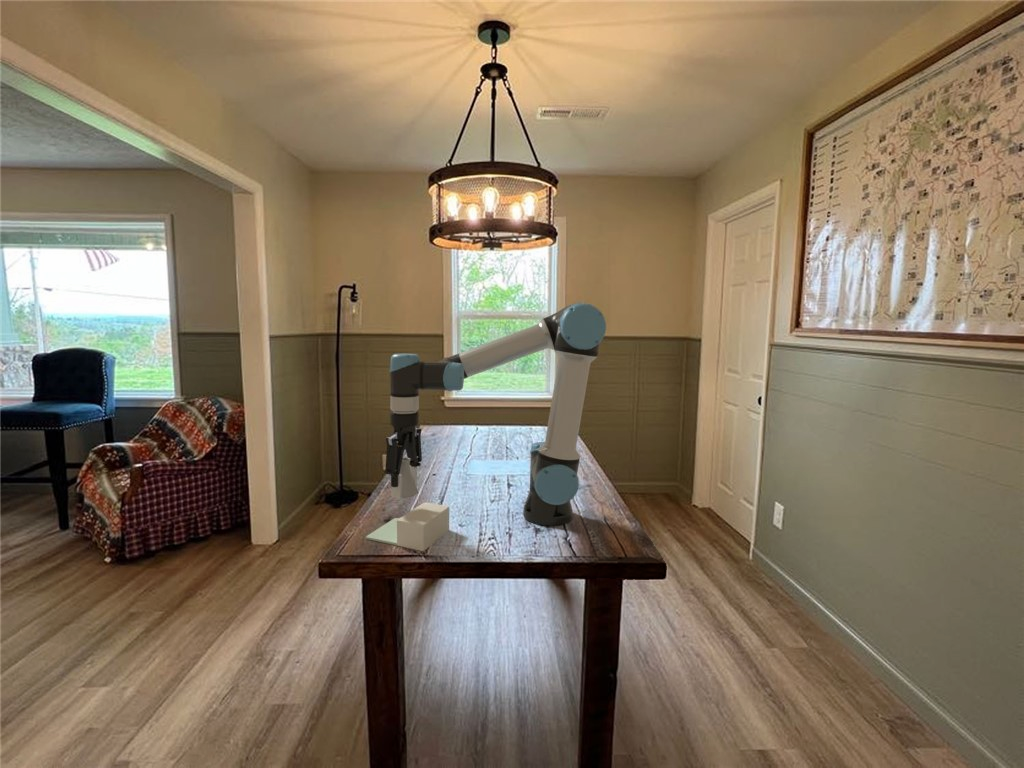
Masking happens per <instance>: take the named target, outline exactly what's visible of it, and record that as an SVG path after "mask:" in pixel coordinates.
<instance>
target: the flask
mask: <svg viewBox="0 0 1024 768" xmlns="http://www.w3.org/2000/svg"><path fill="white" fill-rule="evenodd" d="M410 461H411V459H410V458H407V457H404V456H403V459H402V464H401V469H400V474H401V475H402V498H401V499H406V498H412V497H414V496H416V495H418V494H419V491H418V487H416V485H415V482H414V480H413V477H412V474H411V470H410ZM390 495H391V492H390Z"/></svg>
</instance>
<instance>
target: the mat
mask: <svg viewBox="0 0 1024 768" xmlns="http://www.w3.org/2000/svg"><path fill="white" fill-rule="evenodd" d="M399 518H400V517H395V518H392V519H391V520H389V521H388V522H387V523H385V524H383V525H382V526H380V527H378V528H377V529H375V530H374V531H372V532H371V533H369V534H368V535H366V536H365V540H370V541H373V542H374V541H375V542H379V543H383V544H387V545H392V546H397V520H398V519H399Z"/></svg>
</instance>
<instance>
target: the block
mask: <svg viewBox="0 0 1024 768" xmlns="http://www.w3.org/2000/svg"><path fill="white" fill-rule="evenodd" d="M398 518H399V519H398V520H397V545H396V546H398V547H402V548H406V549H410V550H416V551H420V552H424V551H425V550H427V549H428V548H429V547H430V546H432V545H433V544H434V543H435V542H437V541H438V540H439V539H440V538H441V537H442V536H444V535H445V534H446V533H448V532H449V531H450V506H449V505H444V504H437V503H433V502H426V501H425V502H423V503H421V504H419V505H418V506H417V507H415V508H414V509H412V510H409V512H407V513H406V514H404V515H403V516H401V517H398Z"/></svg>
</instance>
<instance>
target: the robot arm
mask: <svg viewBox="0 0 1024 768" xmlns="http://www.w3.org/2000/svg"><path fill="white" fill-rule="evenodd" d="M606 330H607V322H606V318H605V316H604V314H603V312H601V310H600V309H598V308H597V307H596V306H595V305H592V304H590V303H586V302H576V303H572V304H570V305H567V306H565V307H563V308H562V309H561V310H559V311H556V312H555V313H552V314H551V315H549V316H547V317H544V318H541V319H540V321H539V323H537V324H534V325H532V326H528V327H527V328H524V329H521V330H519V331H518V330H517V331H515V332H513V333H510V334H508V335H505V336H503V337H500V338H497V339H494V340H492V341H489V342H486V343H483V344H481V345H478V346H476V347H473V348H469V349H468V350H464V351H461V352H459V353H457V354H453V355H451V356H448V357H447V356H446V357H443V358H442V359H439V360H438V361H429V362H428V361H421V360H420V356H419V355H418V354H417V353H394V354H393V355H391V357H390V365H389V366H390V367H389V368H390V369H389V389H390V391H389V395H390V396H389V397H390V400H389V401H390V405H389V406H390V411H391V412H390V414H389V418H390V419H389V420H390V421H389V423H390V424H389V425H390V426H391V427H393V432H392V435H391V436H386V438H385V442H386V456H385V459H386V460H385V471H384V472H385V474H386V475H389V476H390V487H391V490H390V493H391V494H390V495H391V498H393V499H399V500H400V499H403V498H402V475H401V474H400V469H401V464H402V459H403V458H404V453H405V452H406V456H407V457H406V458H410V459H411V461H410V470H411V474H412V477H413V480H414V482H415V485H416V487H417V486H418V484H417V482H418V480H417V479H418V467H421V465H422V462H423V459H422V458H423V457H422V428H417V426H418V425H419V424H420V423H419V422H420V421H419V417H420V413H419V409H420V401H419V400H420V399H419V398H420V397H419V396H420V395H419V394H420V392H419V391H420V390H422V391H447V392H452V391H462V390H463V389H464V383H465V379H466V378H469V377H473V376H475V375H477V374H481V373H484V372H486V371H490V370H492V369H494V368H497V367H500V366H502V365H505V364H509V363H511V362H514V361H517V360H520V359H522V358H524V357H528V356H530V355H533V354H536V353H538V352H541V351H544V350H547V349H550V350H552V351H553V352H554V353H555V355H556V356H557V357H558V359H557V365H556V371H555V378H554V384H553V390H552V391H553V392H552V397H551V403H550V410H549V416H548V421H547V428H546V434H545V439H544V441H538V442H534V443H532V444H531V446H530V451H529V453H530V463H529V464H530V471H529V492H528V494H527V496H526V500H525V503H524V505H523V517H524V519H525V520H527V521H528V522H529V523H533V524H535V525H541V526H548V527H549V526H551V527H552V526H561V525H565V524H568V523H570V522H571V521H572V520H573V514H574V513H573V506H572V503H571V500H572V499H574V498H575V496H576V495H577V493H578V491H579V487H580V480H579V476H578V471H579V466H580V460H581V455H580V454H579V452H578V451H577V443H578V438H579V432H580V426H581V420H582V414H583V408H584V405H585V403H584V402H585V397H586V391H587V386H588V385H587V384H588V379H589V373H590V369H591V363H592V362H594V361H595V360H596V359H597V358H598V355H599V349H600V344H601V342H602V341H603V339H604V337H605V334H606ZM417 488H418V487H417Z"/></svg>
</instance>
